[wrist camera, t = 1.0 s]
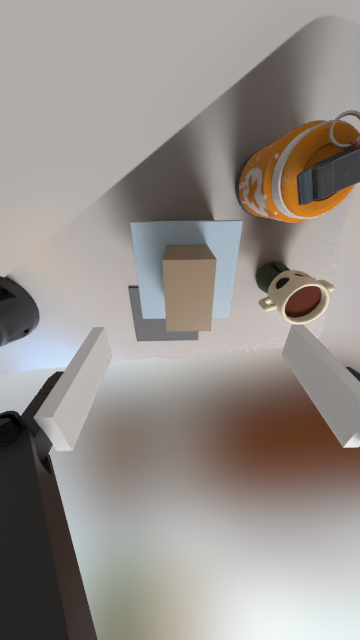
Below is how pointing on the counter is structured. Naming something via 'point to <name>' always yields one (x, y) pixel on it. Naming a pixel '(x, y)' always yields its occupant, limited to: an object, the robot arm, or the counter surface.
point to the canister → (302, 172)
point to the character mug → (293, 293)
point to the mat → (154, 324)
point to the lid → (186, 270)
